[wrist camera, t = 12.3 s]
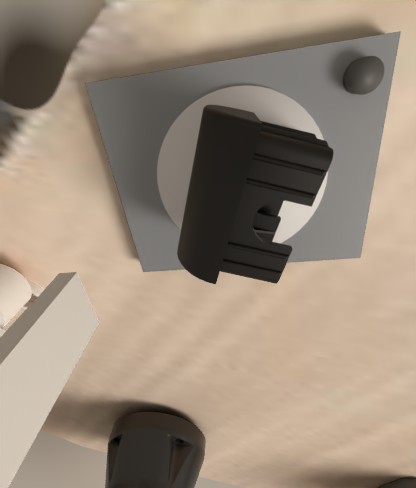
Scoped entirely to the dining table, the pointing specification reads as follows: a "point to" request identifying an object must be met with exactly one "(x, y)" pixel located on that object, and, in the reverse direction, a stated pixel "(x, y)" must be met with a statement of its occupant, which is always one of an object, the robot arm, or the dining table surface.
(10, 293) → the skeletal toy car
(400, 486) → the liquor
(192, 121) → the plate
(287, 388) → the dining table surface
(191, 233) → the end cap
